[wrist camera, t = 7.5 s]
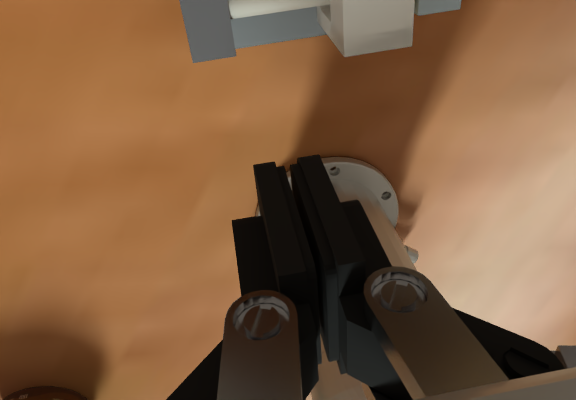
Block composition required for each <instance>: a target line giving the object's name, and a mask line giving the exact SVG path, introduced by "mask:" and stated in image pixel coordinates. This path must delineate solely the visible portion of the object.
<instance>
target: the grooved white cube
mask: <svg viewBox="0 0 576 400" xmlns="http://www.w3.org/2000/svg"><path fill="white" fill-rule="evenodd" d="M414 4H415V0H330V4H329V5H322V6H317V22H318V23H319V24H320V26H321V27H322V28H323V30H324V31H325V32H326V34H327V35H328V36H329V38H330V39H331V40H332V42H333V43H334V44H335V46H336V47H337V48H338V50H339V51H340V52H341V54H342V55H343V56H344V57H349V56H355V55H361V54H368V53H374V52H380V51H386V50H393V49H399V48H405V47H411V46H412V41H413V22H414Z"/></svg>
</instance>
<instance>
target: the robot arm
mask: <svg viewBox="0 0 576 400" xmlns="http://www.w3.org/2000/svg"><path fill="white" fill-rule="evenodd" d="M253 167H254V175H255V182H256V189H257V197H258V204H259V205H258V207H257V211H256V215H255V217H249V218H243V219H237V220H232V227H233V234H234V242H235V250H236V258H237V265H238V273H239V281H240V289H241V297H240V298H239V299H237V300H236V301H235V302H233V304H232V305H231V307H230V308H229V309H228V311H227V314H226V318H225V324H224V334H223V340H222V341H221V342H220V343H219V344H218V345H217V346H216V347H215V348H214V349H213V350H212V352H211V353H210V354H209V355H208V356H207V357H206V358H205V359H204V360H203V361H202V362H201V363H200V364H199V365H198V366H197V367H196V368H195V370H194V371H193V372H192V373H191V374H190V375H189V376H188V377H187V378H186V379H185V380H184V381H183V382H182V383H181V384H180V385H179V387H178V388H177V389H176V390H175V391H174V392H173V393H172V394H171V395H170V396H169V397H168V398H167V399H166V400H306V397H307V396H308V395H309V393H310V392H311V396H312V400H576V346H558V347H557V349H556V351H550V350H548V349H547V348H546V347H544V346H542V345H540V344H538V343H537V342H535V341H532V340H530V339H527V338H525V337H522V336H520V335H518V334H515V333H513V332H510V331H508V330H505V329H503V328H500V327H498V326H496V325H493V324H491V323H488V322H486V321H483V320H481V319H478V318H476V317H474V316H471V315H469V314H466V313H464V312H461V311H459V310H456V309H454V308H452V307H451V306H450V305H449V304H448V303H447V301H446V300H445V299H444V298H443V296H442V295H441V294H440V293H439V291H438V290H437V289H436V288H435V286H434V285H433V284H432V283H431V281H430V280H429V279H428V278H426V277H425V276H424V275H423V274H421V273H419V272H417V270H416V268H415V266H414V263H415V262H416V261H417V259H418V251H417V250H415V249H413V248H410V247H408V246H406V245H403V243H402V241H401V239H400V237H399V236H398V234H397V232H396V230H395V226H396V223H397V219H398V200H397V196H396V193H395V191H394V189H393V187H392V186H391V184H390V182H389V181H388V180H387V178H386V177H385V176H384V174H383V173H381V172H380V171H379V170H378V169H377V168H375V167H374V166H372V165H370V164H368V163H366V162H364V161H361V160H357V159H353V158H346V157H329V158H321V157H320V155H313V156H307V157H300V158H297V164H292V165H290V171H288V172H287V173H286V171H285V168H284V166H280V167H276V164H275V162H268V163H262V164H256V165H253Z"/></svg>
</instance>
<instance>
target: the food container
mask: <svg viewBox="0 0 576 400" xmlns="http://www.w3.org/2000/svg"><path fill="white" fill-rule="evenodd" d="M4 400H87V398H85V397H84V396H82V395H81V394H79V393H77V392H75V391H73V390H69V389H66V388H61V387H52V386H42V387H33V388H27V389H24V390H20V391H18V392H15V393H13V394H11V395H9V396H7V397H6V398H5V399H4Z"/></svg>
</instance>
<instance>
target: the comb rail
mask: <svg viewBox="0 0 576 400" xmlns="http://www.w3.org/2000/svg"><path fill="white" fill-rule="evenodd" d="M179 1H180V5H181V10H182V15H183V19H184V24H185V28H186V33H187V37H188V42H189V46H190V51H191V56H192V60H193V63H196V62H203V61H209V60H215V59H222V58H228V57H234V56H236V51H235V49H238V48H244V47H251V46H257V45H263V44H270V43H276V42H283V41H289V40H295V39H302V38H308V37H315V36H321V35H327V34H326V32H325V31H324V30H323V28H322V27H321V26H320V24H319V23H318V22H317V6H322V5H329V4H330V0H179ZM460 8H461V0H415V4H414V13H415V14H416V15H418V16H420V15H427V14H433V13H439V12H446V11H452V10H459V9H460Z"/></svg>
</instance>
